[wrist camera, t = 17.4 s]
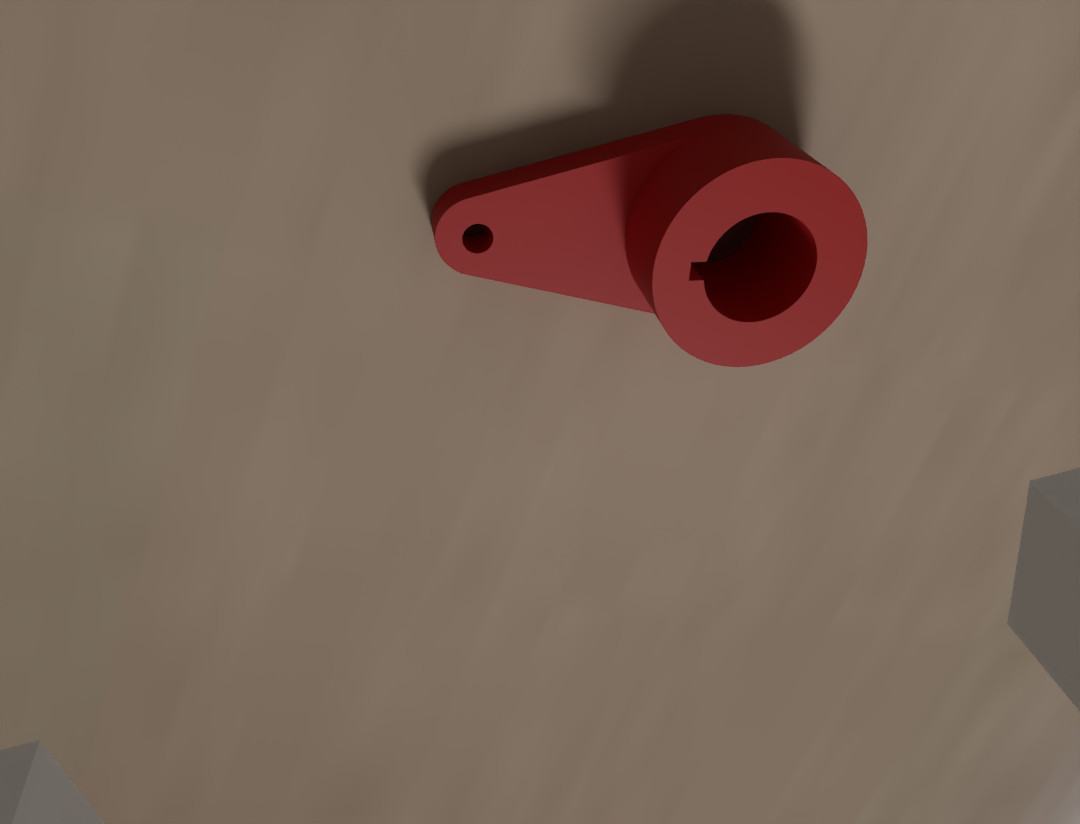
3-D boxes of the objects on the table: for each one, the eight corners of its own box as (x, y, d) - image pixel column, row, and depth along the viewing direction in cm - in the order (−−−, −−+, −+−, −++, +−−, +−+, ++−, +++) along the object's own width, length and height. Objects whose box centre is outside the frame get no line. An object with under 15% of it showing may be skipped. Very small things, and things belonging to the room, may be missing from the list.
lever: (819, 113, 42) (890, 156, 37) (783, 298, 47) (840, 361, 42) (428, 115, 39) (442, 162, 34) (433, 313, 44) (445, 382, 39)
